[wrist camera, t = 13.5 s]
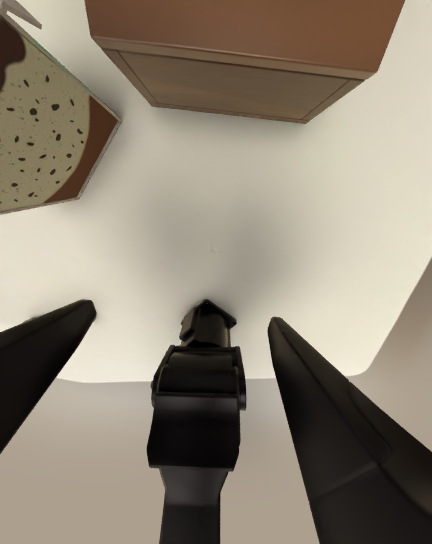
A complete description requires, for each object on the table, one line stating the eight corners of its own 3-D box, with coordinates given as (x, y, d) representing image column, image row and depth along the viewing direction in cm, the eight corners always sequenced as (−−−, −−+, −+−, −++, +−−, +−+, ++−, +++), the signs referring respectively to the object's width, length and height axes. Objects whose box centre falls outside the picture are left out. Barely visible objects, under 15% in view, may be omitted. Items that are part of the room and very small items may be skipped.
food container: (59, 24, 12) (-371, -403, 3) (131, 104, 14) (-19, -29, 5) (13, 162, 16) (-225, 138, 8) (73, 209, 18) (-62, 232, 10)
